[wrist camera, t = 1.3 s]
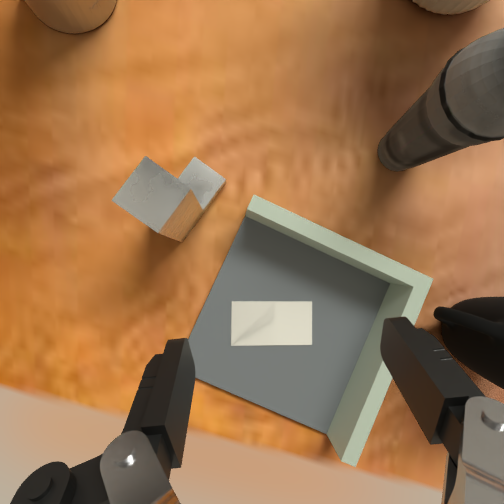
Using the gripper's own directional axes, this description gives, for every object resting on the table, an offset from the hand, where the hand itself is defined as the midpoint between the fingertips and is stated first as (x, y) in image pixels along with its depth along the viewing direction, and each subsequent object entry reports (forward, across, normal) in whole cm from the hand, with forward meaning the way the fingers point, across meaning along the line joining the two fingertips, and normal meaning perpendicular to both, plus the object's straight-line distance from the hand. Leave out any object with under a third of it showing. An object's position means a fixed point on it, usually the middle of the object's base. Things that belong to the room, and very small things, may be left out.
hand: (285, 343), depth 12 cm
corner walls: (+15, -3, +12) cm, 20 cm away
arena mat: (+15, -3, +12) cm, 20 cm away
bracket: (+21, +7, 0) cm, 23 cm away
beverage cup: (+25, -16, -2) cm, 30 cm away
